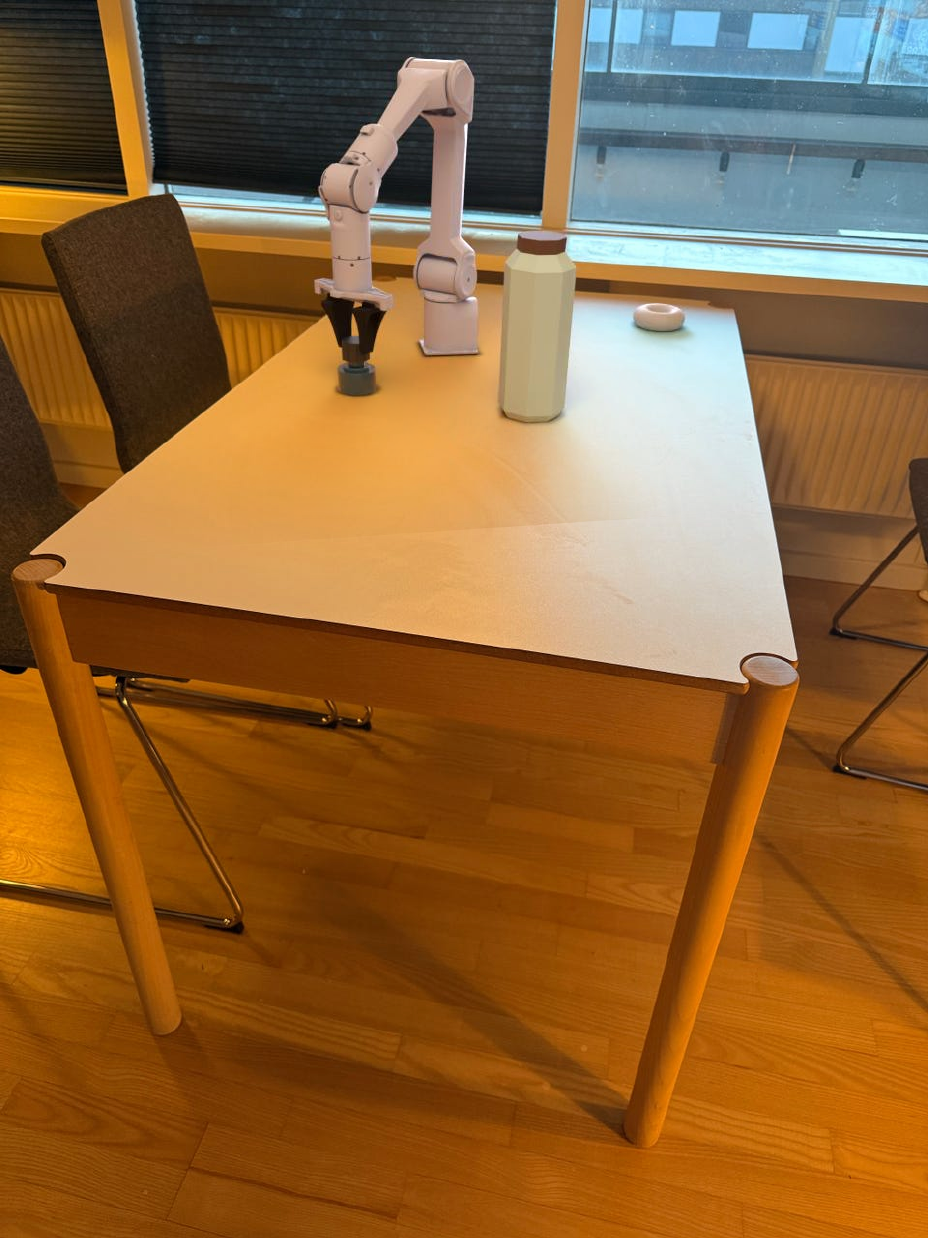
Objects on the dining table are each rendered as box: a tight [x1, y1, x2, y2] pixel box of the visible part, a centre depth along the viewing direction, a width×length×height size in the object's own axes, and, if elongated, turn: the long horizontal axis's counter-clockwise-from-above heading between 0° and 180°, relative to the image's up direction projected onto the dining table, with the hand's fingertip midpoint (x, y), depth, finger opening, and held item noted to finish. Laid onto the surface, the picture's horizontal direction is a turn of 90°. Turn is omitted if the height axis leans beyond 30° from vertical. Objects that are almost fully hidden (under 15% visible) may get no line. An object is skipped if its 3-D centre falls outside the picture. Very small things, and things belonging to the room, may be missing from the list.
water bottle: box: [497, 230, 578, 424], centre depth 127 cm, size 10×10×25 cm
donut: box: [632, 303, 686, 332], centre depth 173 cm, size 10×4×10 cm
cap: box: [341, 335, 371, 363], centre depth 137 cm, size 4×4×3 cm
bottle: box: [336, 361, 377, 397], centre depth 139 cm, size 6×6×6 cm
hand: (355, 349), depth 137 cm, fingers closed on cap, 4 cm apart
